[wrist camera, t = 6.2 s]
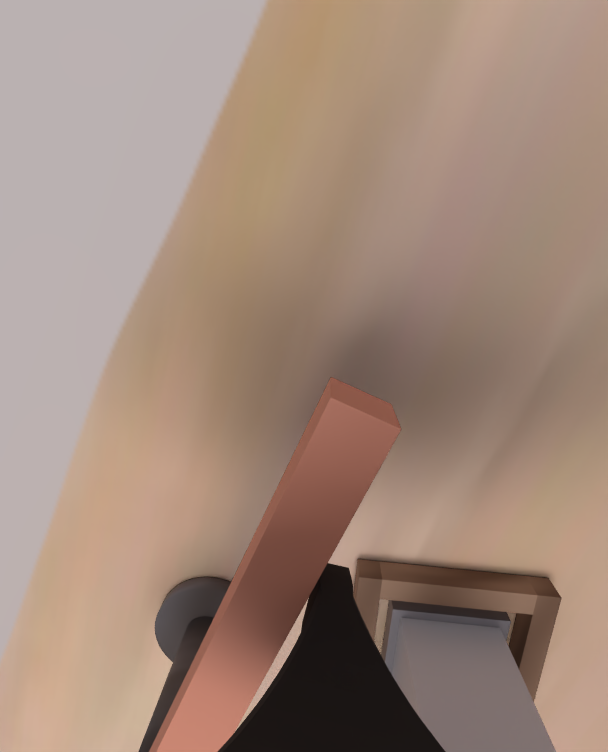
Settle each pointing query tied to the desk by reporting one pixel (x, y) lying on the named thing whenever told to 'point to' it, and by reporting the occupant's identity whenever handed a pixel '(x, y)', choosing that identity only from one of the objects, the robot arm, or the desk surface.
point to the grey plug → (462, 677)
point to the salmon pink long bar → (281, 565)
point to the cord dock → (371, 614)
